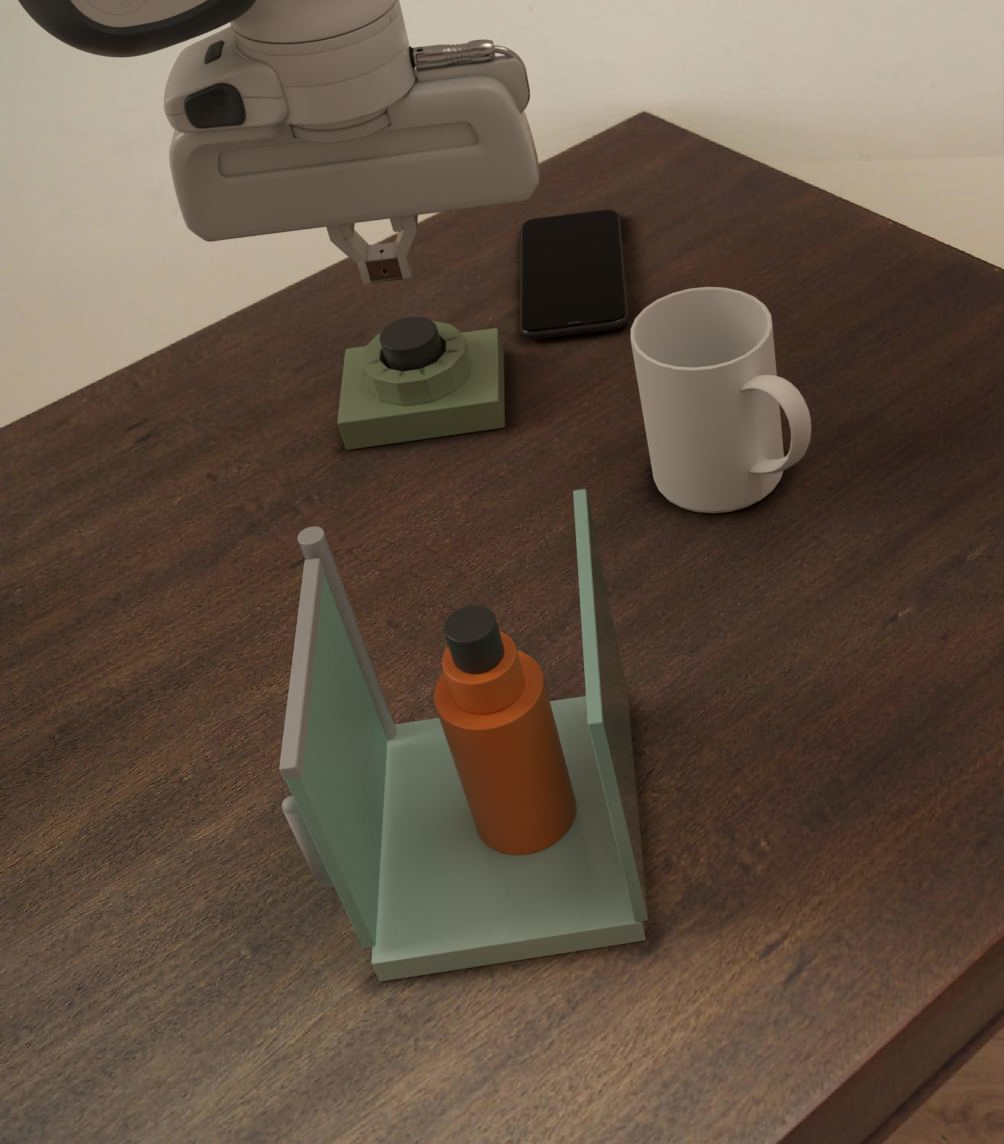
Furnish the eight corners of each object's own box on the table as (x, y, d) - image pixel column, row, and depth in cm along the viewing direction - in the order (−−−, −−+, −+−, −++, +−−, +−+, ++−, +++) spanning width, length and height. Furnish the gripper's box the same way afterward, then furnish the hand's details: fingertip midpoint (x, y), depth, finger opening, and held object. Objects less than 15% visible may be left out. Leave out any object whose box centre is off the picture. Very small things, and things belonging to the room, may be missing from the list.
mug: (627, 473, 94) (601, 328, 87) (727, 413, 98) (710, 270, 90) (759, 571, 87) (743, 423, 80) (862, 503, 90) (855, 355, 83)
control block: (346, 450, 98) (328, 399, 95) (353, 375, 104) (337, 325, 101) (505, 428, 98) (492, 376, 96) (504, 354, 104) (492, 303, 101)
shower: (365, 984, 70) (266, 772, 59) (381, 744, 80) (298, 527, 70) (652, 939, 70) (602, 721, 60) (631, 707, 81) (585, 486, 70)
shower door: (335, 953, 69) (248, 774, 60) (351, 745, 77) (277, 563, 69) (377, 946, 69) (296, 766, 60) (388, 740, 78) (319, 557, 69)
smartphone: (521, 228, 115) (520, 344, 104) (519, 218, 115) (518, 334, 104) (621, 215, 116) (630, 330, 105) (619, 205, 115) (629, 319, 104)
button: (384, 376, 97) (377, 353, 96) (387, 343, 100) (380, 320, 98) (442, 368, 97) (436, 345, 96) (443, 335, 100) (437, 312, 99)
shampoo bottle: (475, 862, 72) (409, 673, 63) (476, 782, 76) (413, 591, 67) (578, 847, 73) (527, 655, 64) (574, 767, 76) (525, 575, 67)
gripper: (519, 11, 87) (558, 227, 97) (151, 56, 87) (227, 270, 96) (520, 60, 83) (562, 282, 92) (132, 109, 82) (214, 328, 92)
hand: (388, 276), depth 94 cm, fingers closed
